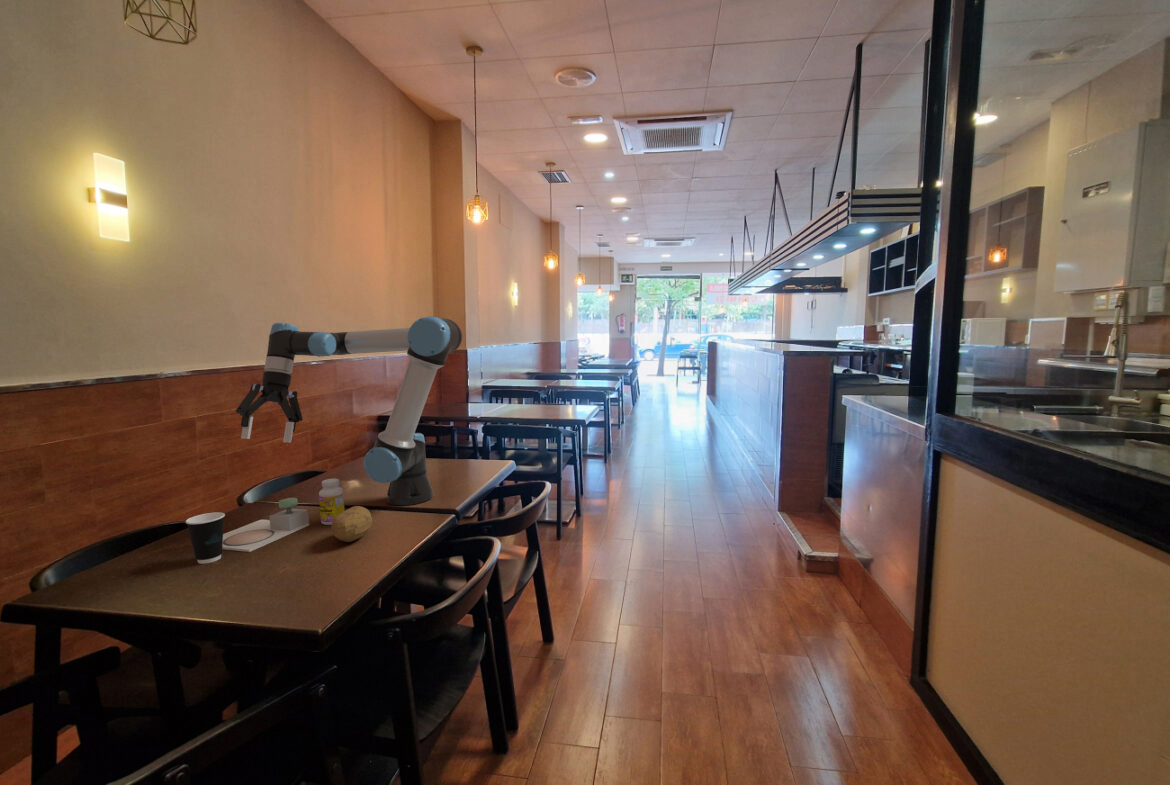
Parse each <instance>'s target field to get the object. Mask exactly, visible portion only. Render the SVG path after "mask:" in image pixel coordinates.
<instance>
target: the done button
mask: <svg viewBox="0 0 1170 785" xmlns="http://www.w3.org/2000/svg"><path fill="white" fill-rule="evenodd" d="M295 506H298V497H287V498H283V499H280V500H278V508H280V509H285V510H286V514H291V513H292V509H293V508H294V507H295Z"/></svg>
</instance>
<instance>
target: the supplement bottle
mask: <svg viewBox="0 0 1170 785" xmlns="http://www.w3.org/2000/svg"><path fill="white" fill-rule="evenodd" d="M339 484H340V479H339V478H328V479H324V480H322V481H321V487H322V489H320V490H319V492H318V500H319V502H318V503H319V514H320V522H321V524H322V525H325V526H332V522H333V520H334V518H335V517H336V516H337V515H338V514H340V513H342V512H344V511H346V510H345V499H344V498H345V497H344V490H343V488H342V487H341V486H339Z"/></svg>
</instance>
